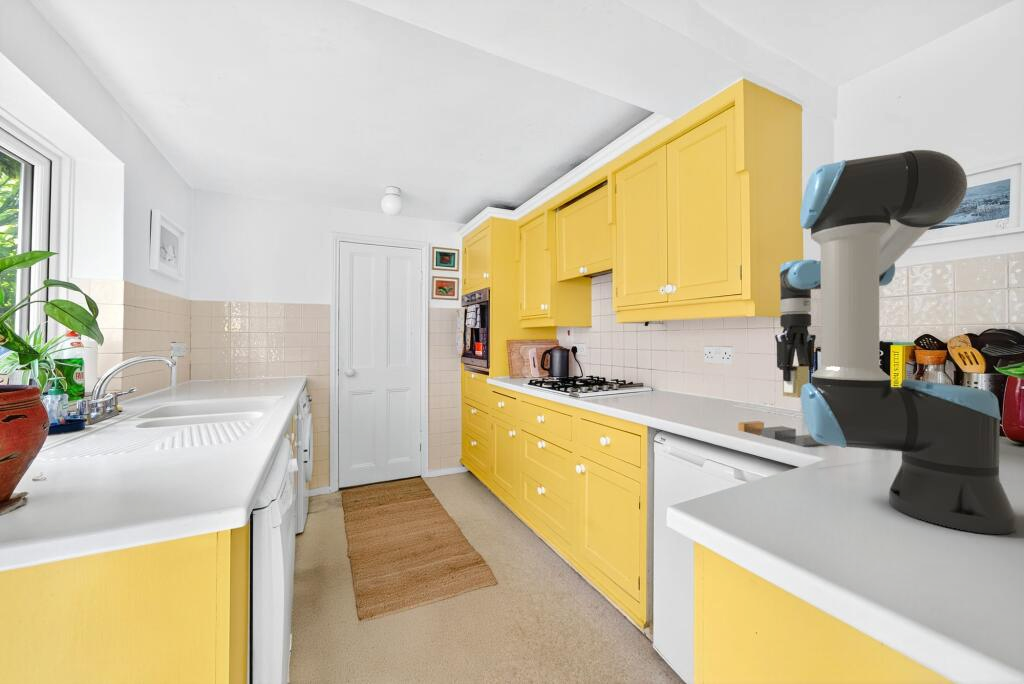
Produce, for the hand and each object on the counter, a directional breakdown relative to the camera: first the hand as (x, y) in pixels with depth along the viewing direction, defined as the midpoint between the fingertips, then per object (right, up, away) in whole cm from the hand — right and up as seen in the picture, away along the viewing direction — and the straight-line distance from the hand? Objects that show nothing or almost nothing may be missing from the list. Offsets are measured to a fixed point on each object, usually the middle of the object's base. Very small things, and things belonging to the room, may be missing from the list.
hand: (795, 391), depth 120 cm
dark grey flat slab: (-1, -15, +6) cm, 16 cm away
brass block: (0, -1, 0) cm, 1 cm away
